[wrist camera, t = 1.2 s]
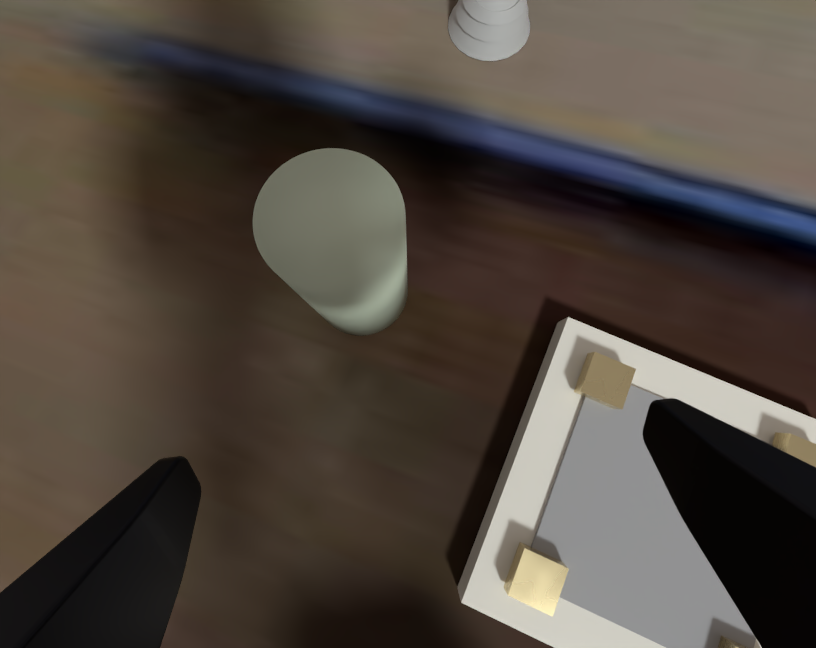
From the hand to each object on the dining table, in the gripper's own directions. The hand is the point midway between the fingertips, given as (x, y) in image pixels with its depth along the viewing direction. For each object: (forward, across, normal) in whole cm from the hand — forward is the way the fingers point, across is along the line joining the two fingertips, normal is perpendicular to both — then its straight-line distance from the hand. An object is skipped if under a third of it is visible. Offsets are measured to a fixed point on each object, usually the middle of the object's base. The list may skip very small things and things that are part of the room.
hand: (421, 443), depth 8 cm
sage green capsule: (+14, +2, +3) cm, 15 cm away
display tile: (+6, -11, +13) cm, 18 cm away
